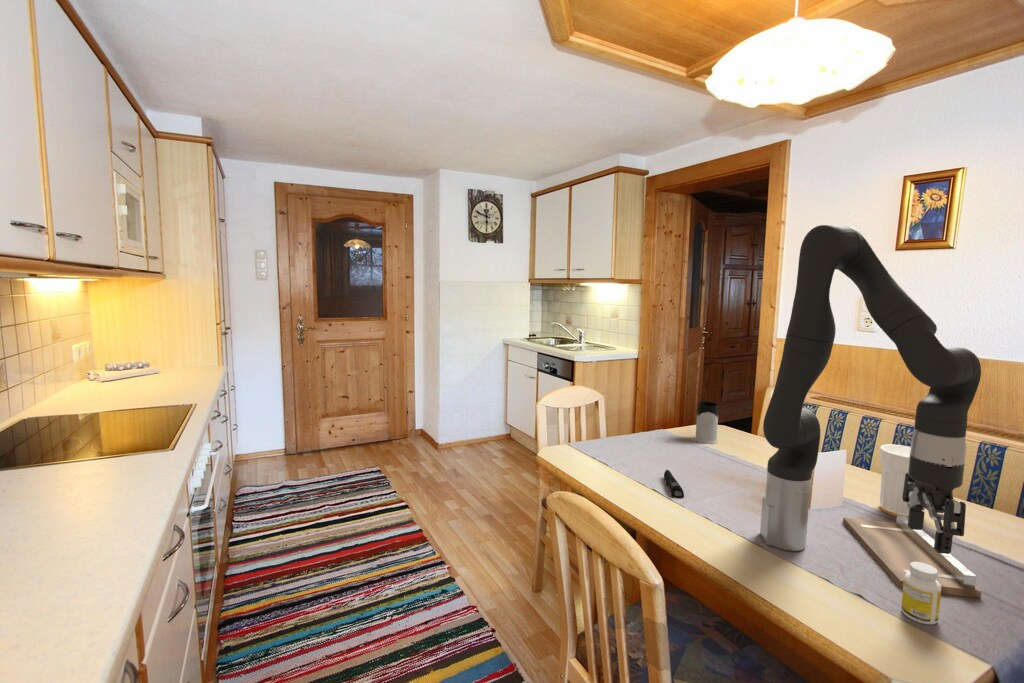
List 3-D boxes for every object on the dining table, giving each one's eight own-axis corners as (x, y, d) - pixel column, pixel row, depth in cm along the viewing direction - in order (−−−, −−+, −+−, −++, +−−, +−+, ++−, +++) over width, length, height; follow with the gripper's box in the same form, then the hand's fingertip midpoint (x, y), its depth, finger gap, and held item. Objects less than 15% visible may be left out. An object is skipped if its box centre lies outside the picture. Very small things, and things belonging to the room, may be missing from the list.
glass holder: (694, 442, 191) (696, 405, 189) (693, 432, 204) (695, 397, 202) (718, 445, 188) (720, 407, 186) (715, 434, 201) (717, 399, 199)
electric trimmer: (673, 478, 157) (673, 469, 156) (684, 499, 141) (685, 488, 141) (661, 478, 157) (661, 468, 157) (671, 498, 142) (672, 488, 141)
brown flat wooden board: (899, 587, 100) (900, 580, 100) (842, 522, 127) (843, 517, 127) (980, 598, 97) (981, 590, 97) (904, 529, 124) (905, 523, 124)
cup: (878, 515, 131) (884, 454, 129) (870, 499, 141) (876, 441, 139) (932, 525, 126) (939, 461, 124) (920, 507, 136) (926, 448, 134)
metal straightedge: (963, 586, 98) (964, 574, 98) (896, 524, 123) (897, 515, 123) (975, 587, 98) (976, 576, 98) (905, 525, 123) (906, 516, 123)
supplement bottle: (920, 605, 95) (925, 559, 93) (945, 625, 89) (951, 576, 88) (893, 606, 94) (898, 559, 93) (917, 626, 89) (923, 576, 88)
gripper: (892, 442, 96) (885, 520, 98) (936, 468, 82) (926, 558, 84) (937, 445, 94) (928, 524, 96) (989, 472, 80) (978, 564, 82)
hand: (928, 540), depth 90 cm, fingers open, 8 cm apart
